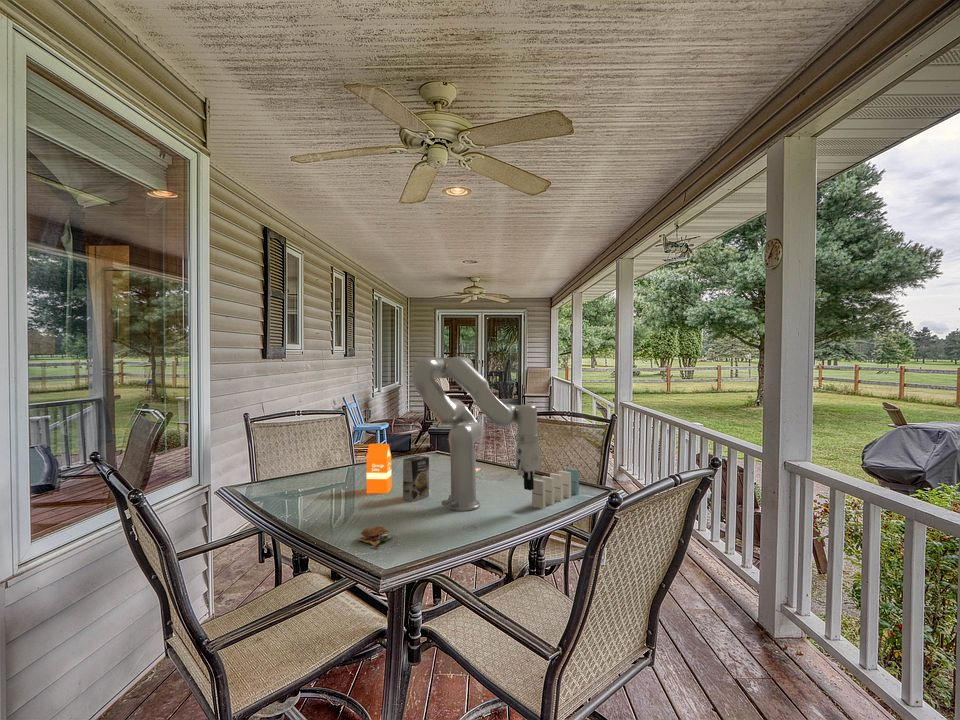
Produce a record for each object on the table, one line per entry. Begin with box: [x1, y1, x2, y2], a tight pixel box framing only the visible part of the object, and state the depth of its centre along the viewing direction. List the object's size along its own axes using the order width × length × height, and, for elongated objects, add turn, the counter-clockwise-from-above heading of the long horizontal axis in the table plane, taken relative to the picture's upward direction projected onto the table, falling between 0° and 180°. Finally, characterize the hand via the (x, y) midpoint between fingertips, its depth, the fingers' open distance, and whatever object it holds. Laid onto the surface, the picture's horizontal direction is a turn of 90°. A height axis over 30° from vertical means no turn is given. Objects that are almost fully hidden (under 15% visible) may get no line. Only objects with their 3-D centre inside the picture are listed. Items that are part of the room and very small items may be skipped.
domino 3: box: [549, 472, 564, 502], centre depth 178 cm, size 2×5×10 cm, turn 47°
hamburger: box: [358, 525, 399, 550], centre depth 137 cm, size 14×14×6 cm
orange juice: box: [366, 443, 392, 494], centre depth 193 cm, size 8×9×20 cm
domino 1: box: [531, 478, 547, 510], centre depth 169 cm, size 2×5×10 cm, turn 47°
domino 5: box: [565, 467, 580, 496], centre depth 187 cm, size 2×5×10 cm, turn 46°
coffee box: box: [402, 455, 430, 502], centre depth 182 cm, size 9×6×16 cm
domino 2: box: [540, 475, 556, 506], centre depth 173 cm, size 2×5×10 cm, turn 47°
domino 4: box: [558, 470, 572, 499], centre depth 182 cm, size 2×5×10 cm, turn 47°
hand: (528, 489), depth 164 cm, fingers closed
